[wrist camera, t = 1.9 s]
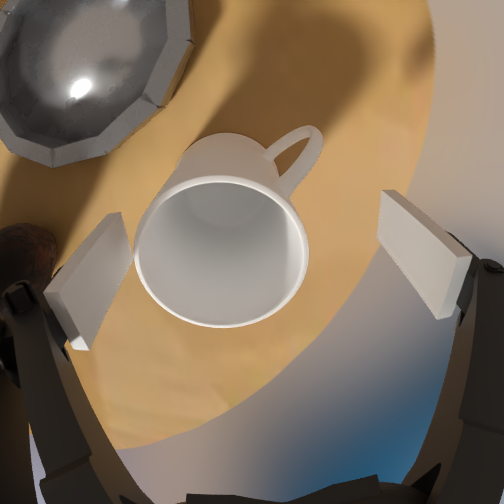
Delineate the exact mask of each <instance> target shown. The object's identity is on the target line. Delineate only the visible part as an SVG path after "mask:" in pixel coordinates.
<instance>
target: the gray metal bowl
mask: <svg viewBox="0 0 504 504" xmlns="http://www.w3.org/2000/svg"><path fill="white" fill-rule="evenodd" d="M193 45H195V34H194V14H193V8H192V0H8V1H7V2H6V4H5V5H4V6H3V7H2V11H0V138H1V140H2V141H3V143H4V144H5V146H6V147H7V149H8V150H9V151H11V153H14V154H16V155H19V156H22V157H24V158H27V159H30V160H32V161H35V162H37V163H40V164H43V165H45V166H48V167H50V168H56V167H59V166H63V165H67V164H70V163H74V162H78V161H82V160H86V159H90V158H94V157H98V156H102V155H106V154H108V153H110V152H112V151H113V150H115V149H117V148H119V147H120V146H121V145H122V144H124V143H125V142H126V141H127V140H128V139H129V138H130V137H131V136H132V135H134V134H135V133H136V132H137V131H139V130H140V129H141V128H142V127H144V126H145V125H146V124H147V123H148V122H149V121H150V120H151V119H152V118H153V117H154V116H156V115H157V114H158V113H159V112H161V111H162V110H163V109H164V108H166V106H165V105H168V103H169V101H170V99H171V96H172V94H173V92H174V90H175V89H176V87H177V85H178V83H179V81H180V79H181V78H182V76H183V73H184V71H185V68H186V66H187V63H188V60H189V58H190V56H191V54H192V52H193V50H194V48H195V47H194V46H193Z"/></svg>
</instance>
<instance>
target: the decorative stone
mask: <svg viewBox="0 0 504 504" xmlns="http://www.w3.org/2000/svg"><path fill="white" fill-rule="evenodd" d="M55 259H56V242H55V239H54V237H53V236H52V235H51V234H50V233H49V232H47V231H46V230H44V229H42V228H40V227H38V226H36V225H32V224H27V223H23V224H14V225H11V226H8V227H6V228H4V229H2V230H0V314H1V316H2V318H3V319H5V318H8V317H12V315H11V314H10V312H9V310H8V308H7V307H6V305H5V303H4V301H3V299H2V295H3V293H4V292H5V290H6V289H7V288H8V287H9V286H11V285H12V284H14V283H15V282H18V281H20V280H28V281H29V282H30V284H31V286H32V288H33V290H34V292H35V294H36V296H37V297H38V295H39V294H40V293H41V291H42V290H43V289H44V287H45V286H46V285H47V283H49V281H50V279H51V277H52V274H53V271H54V266H55Z"/></svg>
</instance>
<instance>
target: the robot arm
mask: <svg viewBox="0 0 504 504" xmlns="http://www.w3.org/2000/svg"><path fill="white" fill-rule="evenodd" d="M377 240H378V241H379V242H380V243H381V245H382V246H383V247H384V248H385V249H386V251H387V252H388V253H389V255H390V256H391V257H392V258H393V260H394V261H395V262H396V264H397V265H398V266H399V267H400V269H401V270H402V271H403V273H404V274H405V276H406V277H407V278H408V280H409V281H410V282H411V284H412V285H413V286H414V288H415V289H416V290H417V292H418V293H419V295H420V296H421V298H422V299H423V300H424V302H425V303H426V305H427V306H428V307H429V309H430V310H431V312H432V313H433V315H434V316H435V318H436V319H437V320H438V319H442V318H446V317H450V316H452V313H453V311H454V308H455V306H456V304H457V305H458V306H459V308H460V309H461V311H460V314H459V316H458V319H457V321H456V323H455V326H454V328H453V330H452V332H455V330H456V332H455V336H454V341H453V346H452V351H451V355H450V360H449V364H448V368H447V372H446V376H445V379H444V383H443V386H442V390H441V393H440V397H439V400H438V403H437V406H436V410H435V412H434V415H433V418H432V421H431V424H430V427H429V429H428V432H427V435H426V437H425V440H424V442H423V445H422V448H421V450H420V452H419V454H418V457H417V459H416V461H415V463H414V465H413V466H412V468H411V469H410V471H409V472H408V474H407V475H406V477H405V478H404V480H403V481H402V483H401V484H396V483H389V482H379V481H378V477H377V474H376V475H372V476H368V477H365V478H360V479H356V480H352V481H347V482H343V483H338V484H333V485H331V486H328V487H326V488H323V489H321V490H318V491H316V492H313V493H311V494H308V495H306V496H303V497H300V498H297V499H295V500H292V501H289V502H273V501H265V500H259V499H252V498H247V497H242V496H236V495H204V494H187V495H186V502H181V503H177V504H499V503H500V500H501V496H502V493H503V489H504V268H503V266H502V265H501V264H499V263H497V262H496V261H493V260H491V259H481V260H480V259H479V258H478V257H477V256H476V255H475V254H474V253H472V252H471V251H470V250H469V249H468V248H467V247H466V246H464V244H463V243H462V242H459V240H458V239H457V238H456V237H455V236H454V235H452V234H451V233H449V232H447V231H445V230H444V229H443V228H441V227H440V226H439V225H438V224H437V223H436V222H434V221H433V220H432V219H431V218H430V217H428V216H427V215H426V214H425V213H423V212H422V211H421V210H420V209H418V208H417V207H416V206H415V205H413V204H412V203H411V202H409V201H408V200H407V199H406V198H405V197H403V196H402V195H401V194H399V193H398V192H397V191H395V190H382V191H381V202H380V212H379V222H378V230H377ZM133 260H134V258H133V255H132V251H131V248H130V244H129V241H128V237H127V234H126V230H125V226H124V222H123V219H122V215H121V212H118V213H111V214H107V216H106V217H105V218H104V219H103V220H102V221H101V222H100V223H99V224H98V225H97V227H96V228H95V229H94V230H93V231H92V232H91V233H90V235H89V236H88V237H87V238H86V239H85V240H84V242H83V243H82V244H81V245H80V246H79V247H78V249H77V250H76V251H75V252H74V253H73V255H72V256H71V257H70V258H69V260H68V261H67V262H66V263H65V264H64V265H63V266H62V267H60V268H59V269H58V270H57V272H56V273H55V274H54V275H53V277H52V278H51V279H50V281H49V283H47V285H46V286H45V287H44V289H43V290H42V291H41V293H40V294H39V295H38V297H37V296H36V294H35V292H34V290H33V288H32V286H31V284H30V282H29V281H28V280H20V281H18V282H15V283H14V284H12V285H11V286H9V287H8V288H7V289H6V290H5V292H4V293H3V295H2V299H3V301H4V303H5V305H6V307H7V308H8V310H9V312H10V314H11V315H12V317H8V318H5V319H3V318H2V316H1V314H0V504H38V502H37V497H36V491H35V486H34V479H33V471H32V463H31V453H30V440H29V424H30V427H31V431H32V434H33V437H34V441H35V444H36V447H37V450H38V453H39V456H40V459H41V462H42V464H43V467H44V470H45V473H46V478H44V479H41V480H40V484H39V486H40V489H41V493H42V495H43V498H44V500H45V503H46V504H154V503H153V502H152V501H151V500H150V499H149V498H148V497H147V496H146V495H145V494H144V493H143V492H142V490H141V489H140V488H139V486H138V485H137V484H136V482H135V481H134V479H133V478H132V476H131V475H130V473H129V472H128V470H127V469H126V467H125V466H124V464H123V462H122V461H121V459H120V458H119V456H118V454H117V453H116V451H115V449H114V448H113V446H112V444H111V442H110V441H109V439H108V437H107V435H106V434H105V432H104V430H103V428H102V426H101V424H100V422H99V421H98V419H97V417H96V415H95V413H94V411H93V409H92V407H91V405H90V403H89V400H88V398H87V396H86V394H85V392H84V390H83V387H82V385H81V383H80V381H79V378H78V376H77V374H76V371H75V369H74V366H73V364H72V361H71V359H70V356H69V354H68V351H67V350H66V348H65V347H64V344H65V342H66V341H67V339H68V340H69V342H70V344H71V345H72V347H73V349H74V350H90V348H91V346H92V344H93V341H94V339H95V337H96V335H97V332H98V330H99V328H100V326H101V324H102V322H103V319H104V317H105V315H106V313H107V311H108V309H109V307H110V305H111V303H112V301H113V299H114V297H115V295H116V293H117V291H118V289H119V287H120V285H121V283H122V281H123V279H124V277H125V275H126V273H127V271H128V269H129V267H130V265H131V263H132V262H133Z"/></svg>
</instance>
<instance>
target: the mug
mask: <svg viewBox="0 0 504 504" xmlns="http://www.w3.org/2000/svg"><path fill="white" fill-rule="evenodd" d="M308 137H310V139H309V141H308V143H307V145H306V147H305V148H304V150H303V151H302V153H301V154H300V155H299V157H298V158H297V159H296V161H295V162H294V163H293V164H292V165H291V166H290V168H289V169H288V170H287V171H286V172H285V173H284V174H283V175H281V176H280V177H279V174H278V170H277V167H276V164H275V162H274V159H275V158H276V157H277V156H278V155H279V154H280V153H281V152H283V151H284V150H285V149H287V148H288V147H290V146H291V145H293V144H295V143H296V142H298V141H300V140H302V139H305V138H308ZM323 142H324V140H323V136H322V134H321V132H320V131H319V130H318V129H317V128H316V127H314V126H311V125H306V126H302V127H299V128H297V129H295V130H293V131H291V132H289V133H288V134H286V135H284V136H283V137H281V138H280V139H279V140H277V141H276V142H275V143H273V144H272V145H271V146H269V147H268V148H267V149H265V148H264V147H263V146H262V145H260V144H259V143H258V142H256V141H255V140H253V139H251V138H249V137H246V136H243V135H240V134H235V133H218V134H213V135H209V136H207V137H204V138H202V139H200V140H198V141H197V142H195V143H194V144H192V145H191V146H190V147H189V148H188V149H187V150H186V151H185V152H184V153H183V155H182V156H181V158H180V159H179V161H178V163H177V166H176V168H175V170H174V172H173V173H172V175H171V176H170V177H169V179H168V180H167V181H166V183H165V184H164V185H163V187H162V188H161V190H160V191H159V192H158V194H157V195H156V197H155V198H154V199H153V201H152V202H151V204H150V205H149V207H148V208H147V210H146V211H145V213H144V215H143V216H142V218H141V220H140V222H139V225H138V228H137V231H136V235H135V240H134V260H135V265H136V269H137V272H138V275H139V277H140V280H141V282H142V284H143V285H144V287H145V289H146V290H147V291H148V293H149V294H150V295H151V297H152V298H153V299H154V300H155V301H156V302H157V303H158V304H159V305H160V306H162V307H163V308H164V309H165V310H167V311H168V312H170V313H171V314H173V315H175V316H177V317H179V318H181V319H183V320H185V321H188V322H190V323H193V324H197V325H201V326H206V327H214V328H231V327H239V326H244V325H248V324H252V323H255V322H258V321H260V320H262V319H265V318H267V317H268V316H270V315H272V314H274V313H275V312H277V311H278V310H279V309H281V308H282V307H283V306H284V305H285V304H286V303H287V302H288V301H289V300H290V299H291V298H292V297H293V296H294V294H295V293H296V292H297V290H298V289H299V287H300V285H301V283H302V281H303V279H304V277H305V274H306V271H307V266H308V260H309V246H308V239H307V235H306V231H305V229H304V226H303V224H302V221H301V219H300V217H299V215H298V213H297V211H296V209H295V207H294V205H293V203H292V201H291V199H290V196H291V194H292V192H293V191H294V190H295V188H296V187H297V186H298V185H299V184H300V183H301V181H302V180H303V179H304V178H305V176H306V175H307V174H308V173H309V171H310V170H311V168H312V167H313V166H314V164H315V162H316V161H317V159H318V157H319V155H320V153H321V151H322V148H323Z"/></svg>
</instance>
